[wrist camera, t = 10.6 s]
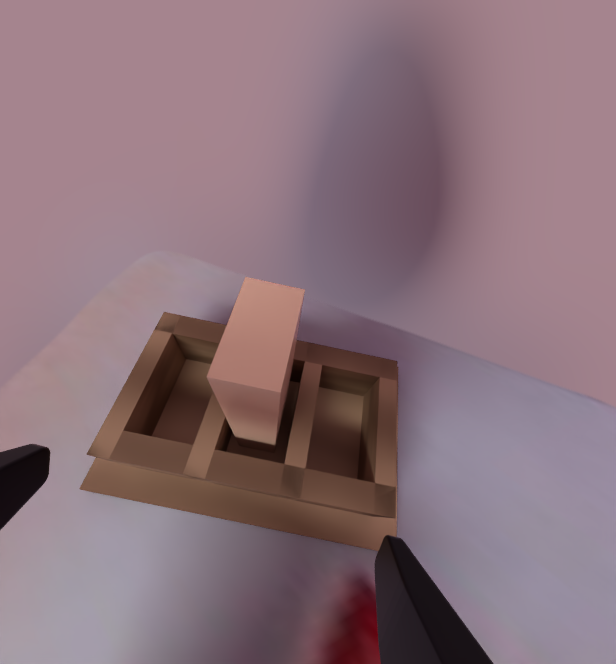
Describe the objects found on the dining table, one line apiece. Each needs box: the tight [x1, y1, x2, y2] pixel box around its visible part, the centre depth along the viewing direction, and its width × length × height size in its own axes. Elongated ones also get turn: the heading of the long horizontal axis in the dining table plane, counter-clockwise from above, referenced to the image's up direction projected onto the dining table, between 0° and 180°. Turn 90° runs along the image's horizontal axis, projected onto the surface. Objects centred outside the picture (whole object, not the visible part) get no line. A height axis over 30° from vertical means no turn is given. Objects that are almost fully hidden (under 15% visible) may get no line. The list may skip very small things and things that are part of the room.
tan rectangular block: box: [207, 277, 305, 453], centre depth 16 cm, size 4×2×12 cm, turn 170°
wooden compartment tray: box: [80, 312, 398, 551], centre depth 20 cm, size 13×20×5 cm, turn 80°
